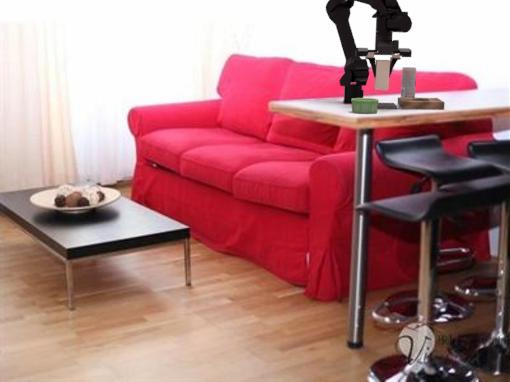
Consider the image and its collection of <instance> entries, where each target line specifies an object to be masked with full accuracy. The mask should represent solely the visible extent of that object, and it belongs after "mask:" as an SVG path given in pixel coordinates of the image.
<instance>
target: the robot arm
mask: <svg viewBox="0 0 510 382" xmlns="http://www.w3.org/2000/svg"><path fill="white" fill-rule="evenodd" d="M355 2H358V3H361V4H365V5H368V6H370V7H371V9H373V10H375V11H376V12H375V13H373V14H372V16H371V18H372V19H375V39H374V41H375V42H374V49H369V48H368V47H357V44H356V41H355V37H354V35H353V31H352V27H351V23H350V17H351V9H352V8H353V7H354V5H355ZM325 11H326V14H327V17H328V19H329V20H330V21H331V22H332V23H333V24H334V25H335V28H336V31H337V35H338V37H339V43H340V45H341V48H342V52H343V55H344V58H345V63H344V66H343V71H344V73H343V75H342V76H341V77H340V78H339V81H338V82H339V85H340V87H343V100H342V101H343V104H352V101H351V99H353V98H364V90H363V86H364V87H366V86H367V82H368V79H369V76H370V67H369V64H370V66H371V70H372V74H373V78H374V79H375V78H376V66H375V65H376V57H375V56H390V57H389V58H390V59H389V61H390V70H389V79H390V78H391V75H392V72H393V70H394V67H395V65H396V64H397V62H398V61H400V60H401V59H402V58H412V49H411V48H409V47H408V48H407V47H400V45H399V44H400V41H399V40H400V39H393V33H408V32H410V30H411V29H412V26H413V22H412V19H411V16H409V12H408V11H403V10H402V8H401V6H400V4H399V2H398V0H328V1H327V2H326V4H325ZM362 57H365V58H362ZM368 62H369V64H368Z"/></svg>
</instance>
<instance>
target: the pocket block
mask: <svg viewBox="0 0 510 382" xmlns="http://www.w3.org/2000/svg"><path fill="white" fill-rule="evenodd" d="M445 103H446V102H445V101H443V100H442V99H440V98H438V97H415V98H403V97H401V96H399V97H397V106H399V107H400V108H401V109H402V110H436V109H438V110H439V111H440V110H442V111H443V110H445Z"/></svg>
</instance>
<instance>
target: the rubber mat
mask: <svg viewBox="0 0 510 382" xmlns="http://www.w3.org/2000/svg"><path fill="white" fill-rule="evenodd" d="M380 109H381V110H384V109H385V110H397V109H398V104H396V103H394V102H378V105H377V110H380Z"/></svg>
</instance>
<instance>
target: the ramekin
mask: <svg viewBox="0 0 510 382" xmlns="http://www.w3.org/2000/svg"><path fill="white" fill-rule="evenodd" d="M351 101H352V103H351V110H352V111H351V112H352V113H353V112H354V114H360V113H361V114H360V115H362V114H363V115H365V114H366V115H369V114H376V113H377V112H378V109H377V105H378V103H379V101H380V100H379V99H378V98H371V97H368V98H367V97H363V98H353V99H351Z"/></svg>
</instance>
